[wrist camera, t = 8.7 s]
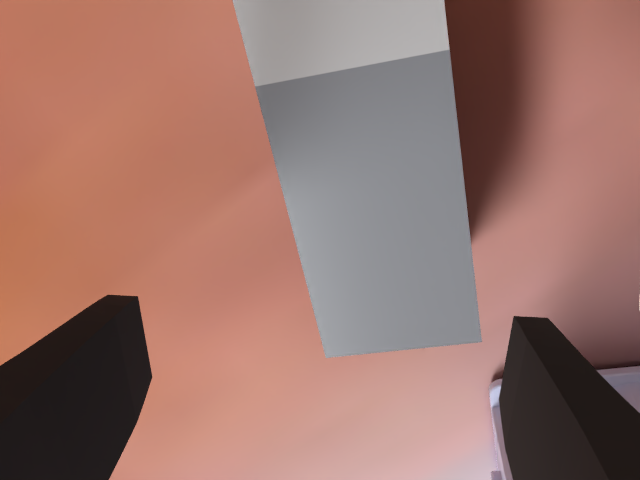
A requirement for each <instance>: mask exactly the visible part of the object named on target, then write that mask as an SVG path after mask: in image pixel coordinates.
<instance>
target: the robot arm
mask: <svg viewBox="0 0 640 480" xmlns="http://www.w3.org/2000/svg"><path fill="white" fill-rule="evenodd" d="M151 379H152V373H151V368H150V362H149V356H148V351H147V345H146V340H145V334H144V328H143V323H142V317H141V312H140V306H139V300H138V296H120V295H107V296H105V297H103V298H102V299H100V300H98V301H97V302H95V303H94V304H92V305H91V306H89V307H88V308H86V309H85V310H83V311H82V312H80V313H79V314H77V315H76V316H74V317H73V318H72V319H70V320H69V321H67V322H66V323H64V324H63V325H61V326H60V327H58V328H57V329H56V330H54V331H53V332H51V333H50V334H48V335H47V336H45V337H44V338H42V339H41V340H39V341H38V342H36V343H35V344H33V345H32V346H30V347H29V348H27V349H26V350H24V351H23V352H21V353H20V354H18V355H17V356H15V357H13V358H12V359H10V360H9V361H7V362H5V363H4V364H2V365H1V366H0V480H109V478H110V476H111V474H112V472H113V470H114V468H115V466H116V464H117V462H118V460H119V458H120V456H121V454H122V452H123V450H124V448H125V446H126V444H127V442H128V440H129V438H130V436H131V434H132V432H133V430H134V427H135V425H136V423H137V421H138V418H139V415H140V412H141V409H142V407H143V404H144V401H145V398H146V395H147V391H148V388H149V385H150V382H151ZM489 397H490V406H491V415H492V425H493V434H494V443H495V452H496V462H497V471H492V472H491V480H640V366H635V367H624V368H613V369H602V370H596V369H595V368H594V367H593V366H592V365H591V364H590V363H589V362H588V361H587V360H586V359H585V358H584V357H583V356H582V355H581V353H580V352H579V351H578V350H577V349H576V348H575V347H574V346H573V345H572V344H571V343H570V342H569V340H568V339H567V338H566V337H565V336H564V335H563V334H562V333H561V332H560V331H559V330H558V328H557V327H556V326H555V325H554V324H553V323H552V322H551V321H550V320H549V319H548V318H538V317H519V316H514V318H513V323H512V329H511V334H510V340H509V345H508V351H507V356H506V362H505V367H504V373H503V378H502V379H498V380H495V381H494V382H492V383H491V384H490V386H489Z"/></svg>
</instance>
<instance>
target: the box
mask: <svg viewBox="0 0 640 480" xmlns="http://www.w3.org/2000/svg"><path fill="white" fill-rule="evenodd" d="M233 4H234V7H235V11H236V15H237V19H238V23H239V27H240V30H241V34H242V38H243V42H244V46H245V50H246V53H247V57H248V61H249V65H250V69H251V73H252V76H253V80H254V84H255V88H256V92H257V96H258V99H259V103H260V107H261V111H262V115H263V119H264V122H265V126H266V130H267V134H268V138H269V141H270V145H271V149H272V153H273V157H274V161H275V164H276V168H277V172H278V176H279V180H280V184H281V187H282V191H283V195H284V199H285V203H286V207H287V210H288V214H289V218H290V222H291V226H292V230H293V233H294V237H295V241H296V245H297V249H298V253H299V256H300V260H301V264H302V268H303V272H304V276H305V279H306V283H307V287H308V291H309V295H310V298H311V302H312V306H313V310H314V314H315V318H316V321H317V325H318V329H319V333H320V337H321V341H322V344H323V348H324V352H325V356H326V358H330V357H340V356H349V355H359V354H369V353H379V352H389V351H399V350H408V349H418V348H428V347H438V346H448V345H458V344H467V343H477V342H482V339H481V330H480V321H479V312H478V303H477V294H476V285H475V276H474V267H473V258H472V249H471V239H470V230H469V221H468V212H467V203H466V194H465V185H464V176H463V167H462V158H461V149H460V140H459V131H458V122H457V112H456V103H455V94H454V85H453V76H452V67H451V58H450V49H449V40H448V31H447V22H446V13H445V4H444V0H233Z"/></svg>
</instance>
